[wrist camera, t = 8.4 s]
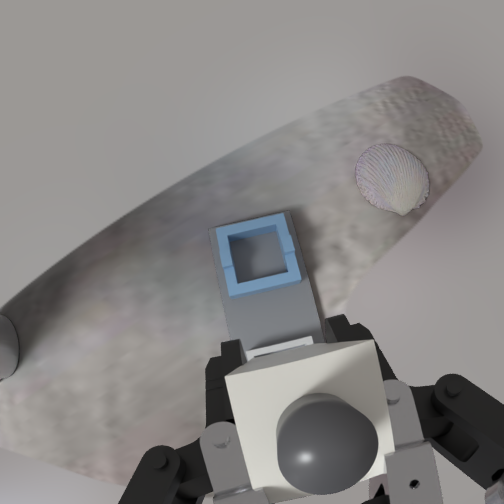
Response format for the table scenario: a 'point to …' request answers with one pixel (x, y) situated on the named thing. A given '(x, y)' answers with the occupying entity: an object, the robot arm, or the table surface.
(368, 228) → the table surface
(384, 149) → the seashell
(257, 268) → the socket
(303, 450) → the white knobbed square peg
